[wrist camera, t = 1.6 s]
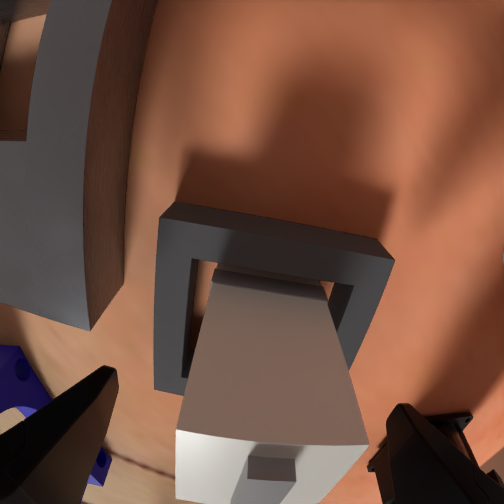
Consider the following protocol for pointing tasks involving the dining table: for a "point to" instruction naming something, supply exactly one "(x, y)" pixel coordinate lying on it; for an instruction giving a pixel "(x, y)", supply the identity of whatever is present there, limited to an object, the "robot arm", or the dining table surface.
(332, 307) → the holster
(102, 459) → the cable clip
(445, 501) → the robot arm
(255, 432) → the plug
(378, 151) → the dining table surface
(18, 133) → the port panel
